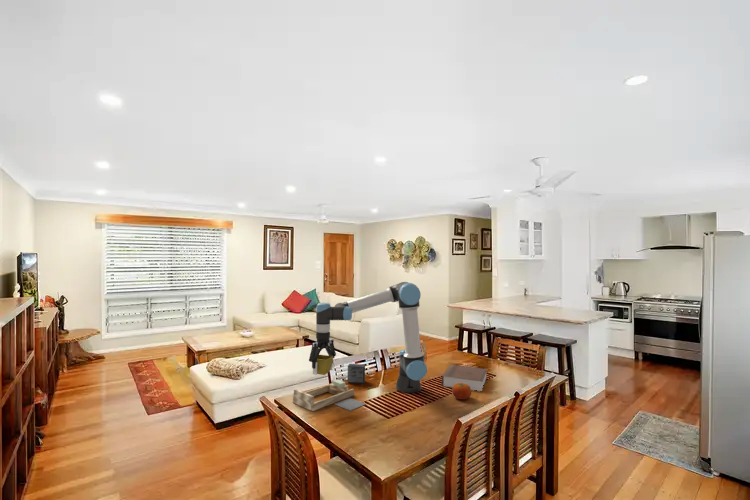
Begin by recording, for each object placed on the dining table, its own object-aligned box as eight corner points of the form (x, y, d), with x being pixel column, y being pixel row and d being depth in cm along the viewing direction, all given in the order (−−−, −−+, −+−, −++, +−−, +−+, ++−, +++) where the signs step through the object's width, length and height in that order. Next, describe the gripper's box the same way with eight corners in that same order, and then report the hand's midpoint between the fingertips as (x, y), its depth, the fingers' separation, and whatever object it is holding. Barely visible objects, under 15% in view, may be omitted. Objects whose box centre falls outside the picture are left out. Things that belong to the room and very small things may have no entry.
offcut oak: (348, 389, 217) (348, 385, 217) (344, 392, 213) (344, 387, 213) (333, 386, 221) (333, 382, 221) (329, 389, 218) (329, 384, 218)
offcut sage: (345, 385, 216) (345, 382, 216) (340, 387, 213) (340, 383, 213) (337, 382, 221) (337, 379, 221) (332, 384, 218) (332, 380, 218)
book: (441, 386, 234) (441, 376, 234) (450, 374, 260) (450, 364, 260) (482, 392, 225) (482, 381, 225) (487, 379, 251) (487, 369, 251)
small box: (365, 380, 241) (365, 364, 242) (363, 384, 235) (364, 367, 235) (348, 379, 242) (349, 363, 243) (347, 383, 236) (347, 366, 236)
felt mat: (366, 404, 202) (366, 403, 202) (350, 411, 193) (350, 410, 193) (349, 398, 210) (349, 397, 210) (334, 404, 201) (334, 404, 201)
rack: (354, 395, 215) (354, 383, 215) (312, 411, 192) (313, 397, 192) (334, 388, 226) (334, 376, 226) (292, 402, 203) (293, 389, 203)
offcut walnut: (349, 396, 215) (349, 390, 215) (344, 398, 212) (345, 392, 212) (333, 391, 222) (333, 386, 222) (328, 393, 219) (328, 388, 219)
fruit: (458, 393, 222) (459, 379, 222) (474, 398, 214) (474, 384, 214) (448, 398, 214) (448, 383, 214) (464, 403, 207) (464, 388, 207)
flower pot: (333, 372, 211) (333, 355, 211) (326, 376, 202) (326, 359, 202) (319, 370, 213) (319, 354, 214) (311, 375, 205) (311, 358, 205)
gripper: (333, 327, 219) (333, 366, 219) (302, 333, 202) (301, 375, 202) (342, 329, 214) (342, 368, 214) (311, 335, 197) (310, 378, 197)
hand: (322, 371), depth 208 cm, fingers closed on flower pot, 10 cm apart
